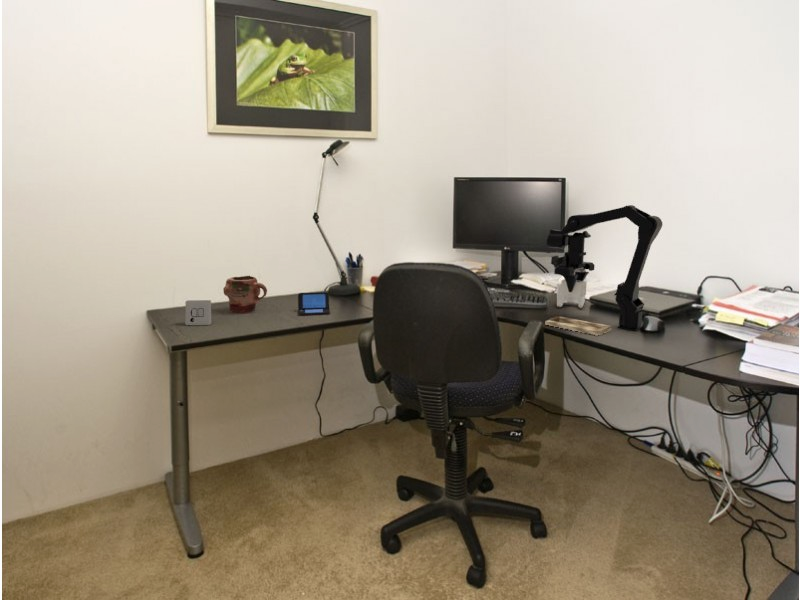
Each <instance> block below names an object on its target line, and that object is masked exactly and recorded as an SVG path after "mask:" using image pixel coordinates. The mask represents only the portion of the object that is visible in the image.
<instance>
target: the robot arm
mask: <svg viewBox="0 0 800 600" xmlns="http://www.w3.org/2000/svg"><path fill="white" fill-rule="evenodd" d="M624 218H626V219H628V220H629V221H630V222H631V223H633V224H634V225H636V226H637V227H638V229H637V244H636V247H635V250H634V253H633V256H632V260H631V261H630V265H629V270H628V273H627V276H626V278H625V280H624V281H623V282H621V283H619V284H617V285H616V286H617V287H616V292H615V294H613V296H615V302H616V303H617V305H618V307H619V309H620V313H619V314H618V315H619V317H618V318H619V319H618V326H617V328H619V329H624V330H630V331H635V332H636V331H639V330H640V328H641V326H642V322H643V321H642V320H643V311H642V310H643V309H644V306H645V303H644V302H643V300H641V299H640V298H639V295H640V294H639V292H640V284H639V283H640V279H641V277H642V273H643V270H644V268H645V265H646V261H647V260H648V256H649V254H650V253H649V252H650V249H651V247H652V244H653V242H654V241H655V239H656V238H657V236H658V235H659V233H660V231H661V229H662V227H663V221H662V219H661V217H659V216H657V215H651V214H649V213H648V212H645V211H643V210H642V209H639V208H638V207H637V206H635V205H631V204H629V205H625V206H622V207H618V208H614V209H613V208H612V209H609V210H606V211H605V210H604V211H601V212H597V213H588V214H587V213H586V214H585V213H584V214H574V215H570V216H569V217H568V219H567V221H566V225H565V226H564V227H562V229H561V230H560V229H559V230H558V229H550V230H549V234H548V236H547V238H546V245H547V248H552V249H562V250H563V249H565V248H566V247H567V251H565V252H564V254H563V255H562V256H558V255H554V256H551V262H550V264H551V266H553V268H554V272H553V273H554V275H559V276H563V277H564V278H565V280H566V283H567V287H568V291H569V292H572V291H573V288H574V285H575V282H576V280H579V281H584V279H585V278H586V279H587V276H588V274H590V272H591V271H595V264H594V263H593V262H590V261H584V258H585V257H584V256H586V255H587V252H586V251H585V242H586V241H585V239H589V238H591V237H592V236H591V234H590V233H589V232H588V231H587V230H586V229H588V228H591V227H593V226H595V225H597V224H600V223H607V222H611V221H615V220H620V219H624ZM578 231H582V232H578ZM572 233H573V234H572ZM586 270H589V271H590V272H589V271H586ZM641 329H642V328H641Z"/></svg>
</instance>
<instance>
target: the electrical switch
mask: <svg viewBox="0 0 800 600" xmlns="http://www.w3.org/2000/svg"><path fill="white" fill-rule="evenodd" d="M212 305H213V303H212V300H208V299H207V300H206V299H205V300H204V299H201V300H200V299H199V300H198V299H197V300H196V299H195V300H193V299H191V300H186V301H185V313H184V314H185V317H184V319H185V320H184V321H185V322H184V324H185V326H188V325H190V326H211V324H212V311H213V310H212V307H213V306H212Z"/></svg>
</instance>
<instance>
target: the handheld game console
mask: <svg viewBox="0 0 800 600" xmlns="http://www.w3.org/2000/svg"><path fill="white" fill-rule="evenodd" d="M297 308H298V309H297V310H298V313H297V315H298V317H304V316H305V317H306V316H307V317H308V316H328V315H330V314H331V311H330V295H329V292H325V291H324V292H300V293H298V294H297Z"/></svg>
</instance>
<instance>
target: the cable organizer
mask: <svg viewBox="0 0 800 600" xmlns="http://www.w3.org/2000/svg"><path fill="white" fill-rule="evenodd" d="M560 276H561V277H559V279H558V280H557V281H556V287H557V290H556V306H557V307H558V308H562V307H563V305H564V304H568V303H571V304H574V305H575V304H577V305H578V308H579V309H582V308H583V307H584V305H585V301H586V295H584V296H574V295H568V294H561V280H564V279H565V278H564V277H563V276H562V275H560ZM584 281H586V282H587V277H586V278H585V279H584Z"/></svg>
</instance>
